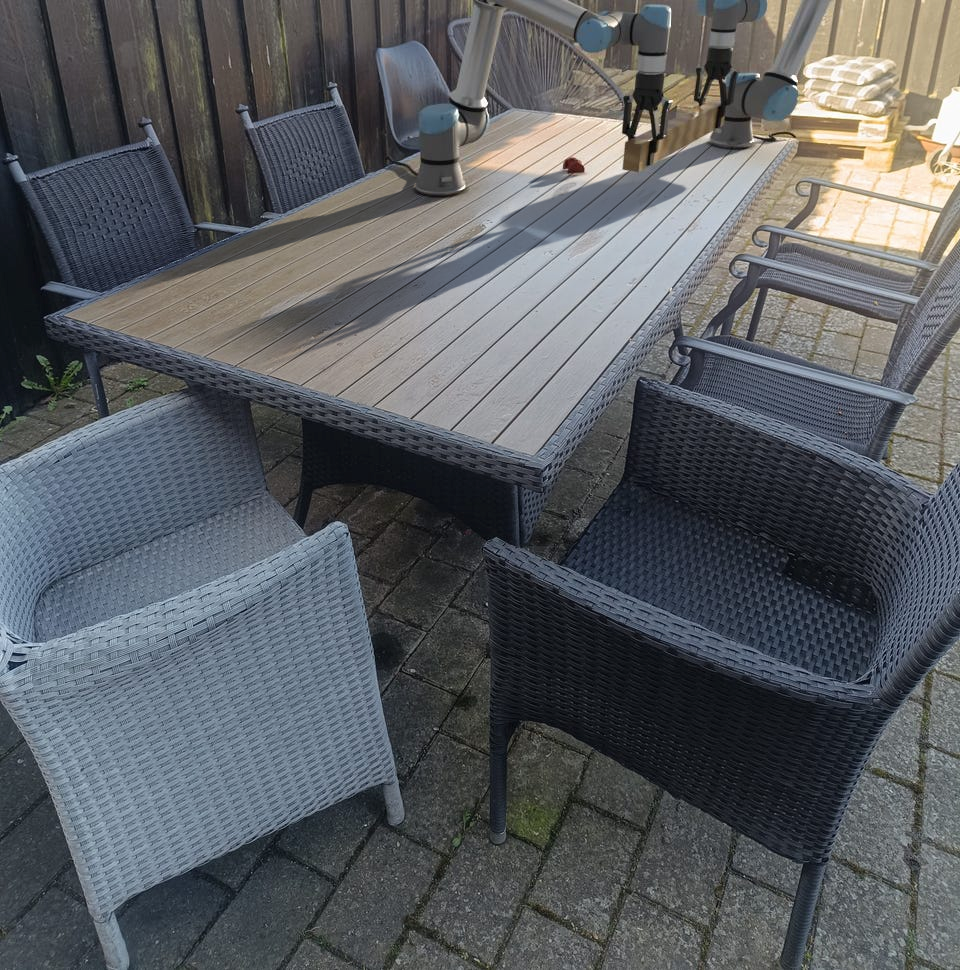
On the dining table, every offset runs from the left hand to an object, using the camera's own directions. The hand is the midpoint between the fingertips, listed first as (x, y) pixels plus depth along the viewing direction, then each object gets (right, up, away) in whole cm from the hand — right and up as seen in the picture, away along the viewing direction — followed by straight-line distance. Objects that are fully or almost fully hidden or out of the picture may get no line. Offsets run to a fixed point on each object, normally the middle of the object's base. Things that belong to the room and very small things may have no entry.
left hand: (641, 162), depth 236 cm
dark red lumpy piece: (-15, +12, +39) cm, 43 cm away
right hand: (+30, +26, +38) cm, 55 cm away
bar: (+15, +13, +19) cm, 27 cm away
